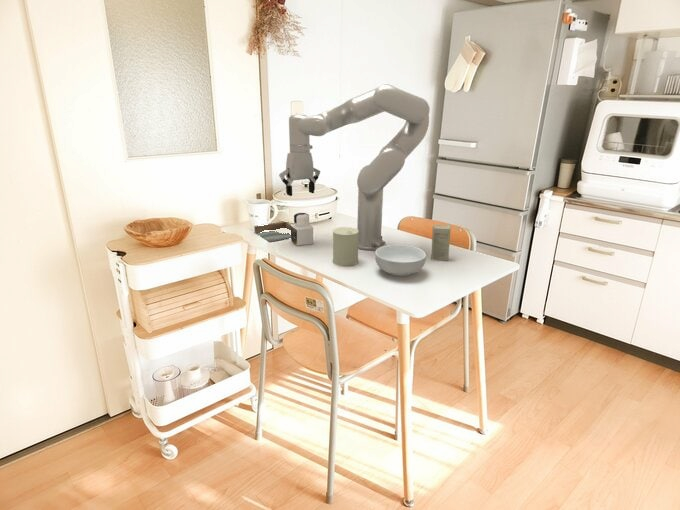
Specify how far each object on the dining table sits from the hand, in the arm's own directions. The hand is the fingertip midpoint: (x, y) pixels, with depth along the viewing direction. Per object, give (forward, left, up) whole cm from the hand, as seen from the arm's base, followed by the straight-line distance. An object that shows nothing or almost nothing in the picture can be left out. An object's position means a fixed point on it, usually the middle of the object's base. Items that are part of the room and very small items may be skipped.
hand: (300, 194), depth 171 cm
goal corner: (+15, +3, -20) cm, 25 cm away
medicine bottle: (0, 0, -20) cm, 20 cm away
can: (-27, -3, -20) cm, 34 cm away
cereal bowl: (-45, -13, -20) cm, 51 cm away
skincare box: (-43, -34, -20) cm, 59 cm away
